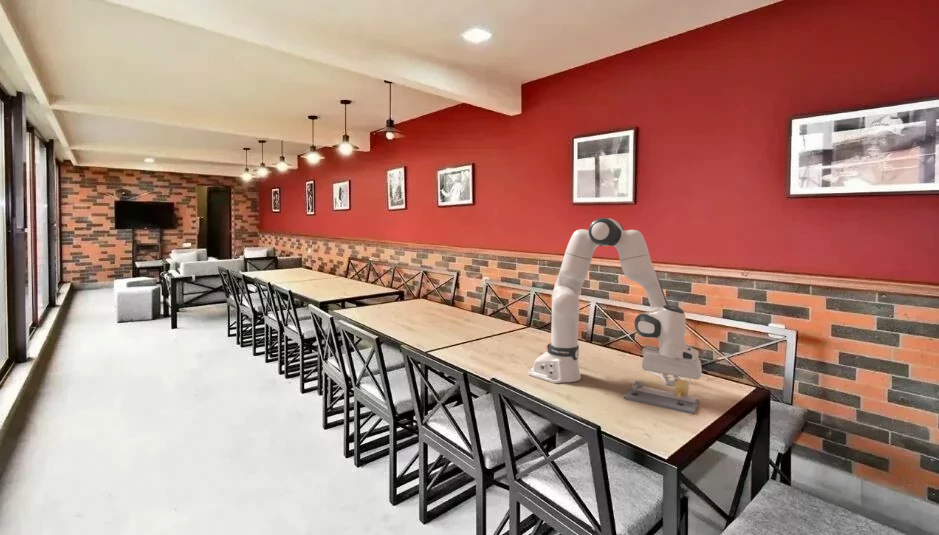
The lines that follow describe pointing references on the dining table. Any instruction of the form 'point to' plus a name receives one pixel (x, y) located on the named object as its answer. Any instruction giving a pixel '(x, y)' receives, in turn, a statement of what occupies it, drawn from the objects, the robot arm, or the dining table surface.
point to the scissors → (663, 377)
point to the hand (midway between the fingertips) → (670, 385)
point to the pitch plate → (661, 398)
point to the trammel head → (681, 388)
